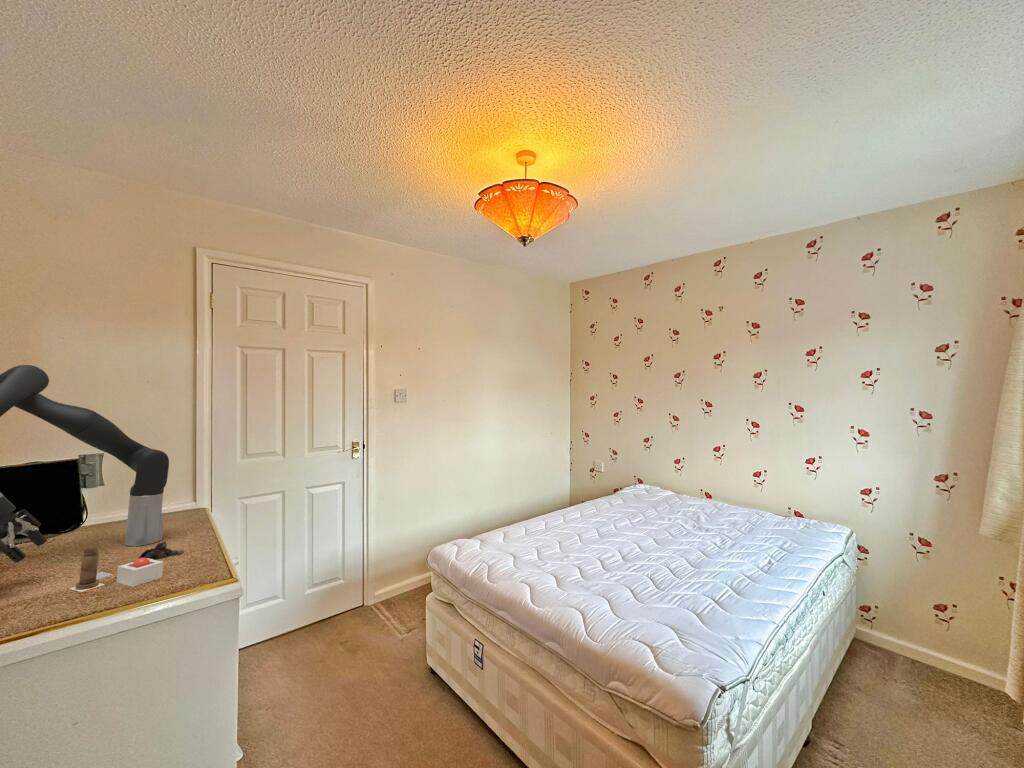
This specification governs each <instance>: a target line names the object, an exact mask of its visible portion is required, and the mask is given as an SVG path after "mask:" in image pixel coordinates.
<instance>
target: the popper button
mask: <svg viewBox="0 0 1024 768" xmlns="http://www.w3.org/2000/svg"><path fill="white" fill-rule="evenodd" d="M138 558H139V557H138ZM138 558H137V559H135V560H134V561H133V562H134V563H133V565H132V567H135V568H139V567H142V566H146V565H149V564H151V563H150V561H149V559H147V558H139V559H138Z"/></svg>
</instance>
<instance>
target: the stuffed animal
mask: <svg viewBox="0 0 1024 768" xmlns="http://www.w3.org/2000/svg"><path fill="white" fill-rule="evenodd" d="M167 546H168V544H167V542H166V541H159V542H158V543H157V544H156V545H155V547H154V548H151V549H146V550H145V551H143V552H142V553H141V555H140V556H139V557H138V558H137V559H139V558H149V559H153V560H160V559H162V558H164V557H165V556H166V557H174V556H182V555H183V554H185V550H184V549H177V550H176V549H175V550H172V549H170V548H168V547H167Z"/></svg>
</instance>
